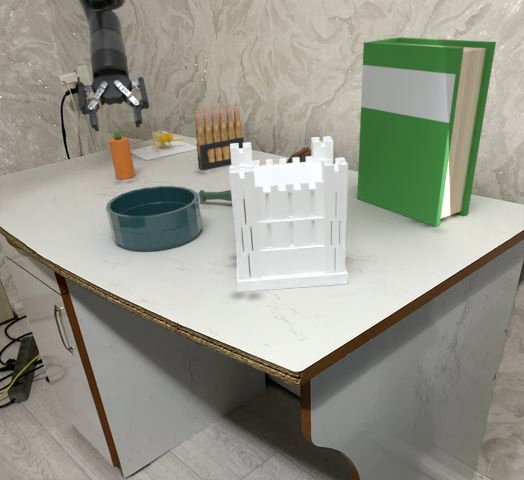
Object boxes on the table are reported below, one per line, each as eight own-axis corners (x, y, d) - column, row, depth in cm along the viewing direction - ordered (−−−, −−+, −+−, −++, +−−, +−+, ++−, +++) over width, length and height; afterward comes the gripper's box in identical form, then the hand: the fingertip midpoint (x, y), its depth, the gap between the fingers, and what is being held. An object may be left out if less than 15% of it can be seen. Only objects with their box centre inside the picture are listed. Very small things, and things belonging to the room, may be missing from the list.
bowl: (110, 257, 80) (102, 222, 77) (117, 223, 92) (109, 191, 89) (205, 245, 81) (200, 210, 78) (199, 213, 93) (195, 182, 90)
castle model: (237, 247, 80) (227, 143, 72) (331, 240, 80) (332, 135, 72) (237, 292, 69) (226, 174, 60) (347, 283, 69) (351, 164, 60)
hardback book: (467, 214, 85) (495, 41, 72) (435, 226, 82) (458, 48, 68) (387, 189, 98) (398, 37, 84) (357, 198, 94) (363, 42, 81)
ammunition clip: (242, 159, 120) (237, 101, 113) (246, 161, 119) (241, 102, 112) (198, 168, 116) (191, 108, 109) (201, 170, 115) (194, 110, 108)
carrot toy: (115, 180, 113) (105, 134, 107) (117, 174, 116) (107, 130, 111) (134, 178, 113) (126, 132, 108) (135, 172, 116) (126, 128, 111)
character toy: (155, 137, 126) (142, 132, 131) (158, 151, 128) (144, 146, 133) (186, 131, 129) (171, 126, 135) (188, 145, 131) (173, 140, 137)
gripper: (70, 49, 111) (77, 119, 108) (139, 43, 112) (148, 112, 109) (79, 74, 118) (87, 140, 115) (144, 69, 119) (153, 134, 116)
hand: (117, 127), depth 112 cm, fingers open, 8 cm apart
